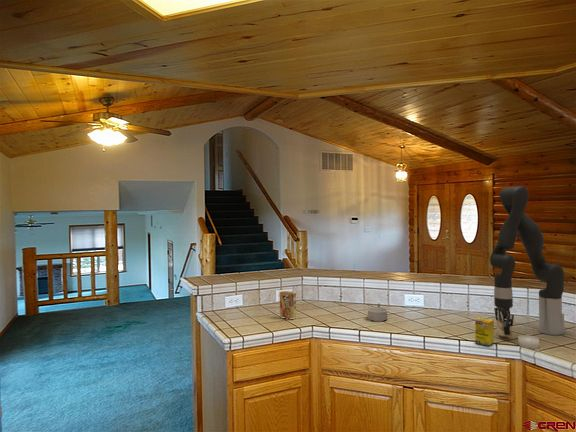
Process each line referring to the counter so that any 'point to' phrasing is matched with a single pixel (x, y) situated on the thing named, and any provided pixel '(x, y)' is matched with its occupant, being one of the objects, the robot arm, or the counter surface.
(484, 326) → the supplement box
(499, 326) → the beech block
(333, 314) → the counter surface
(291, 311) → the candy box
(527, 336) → the white rounded lump
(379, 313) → the saucepan
